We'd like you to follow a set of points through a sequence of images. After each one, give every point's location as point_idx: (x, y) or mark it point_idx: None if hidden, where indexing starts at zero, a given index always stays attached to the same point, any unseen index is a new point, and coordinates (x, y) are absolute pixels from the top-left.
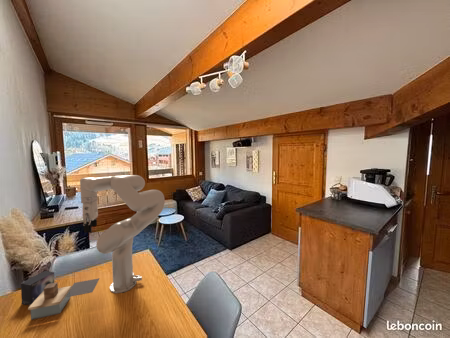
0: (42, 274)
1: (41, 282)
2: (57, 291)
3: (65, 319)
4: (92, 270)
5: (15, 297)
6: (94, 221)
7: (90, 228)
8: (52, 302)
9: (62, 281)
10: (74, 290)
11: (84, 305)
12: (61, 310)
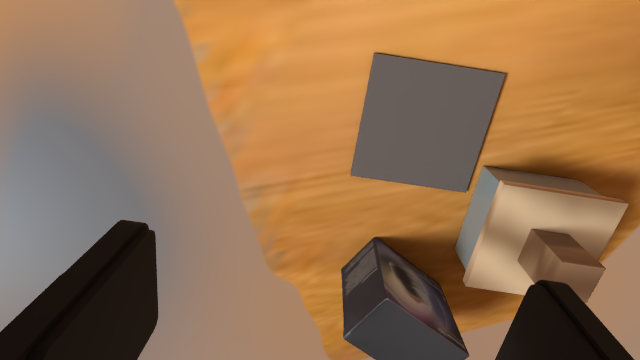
0: (388, 339)
1: (433, 318)
2: (542, 234)
3: (634, 153)
4: (246, 107)
5: (341, 343)
6: (81, 354)
7: (618, 349)
8: (607, 231)
9: (299, 226)
10: (429, 161)
11: (590, 95)
12: (570, 181)
